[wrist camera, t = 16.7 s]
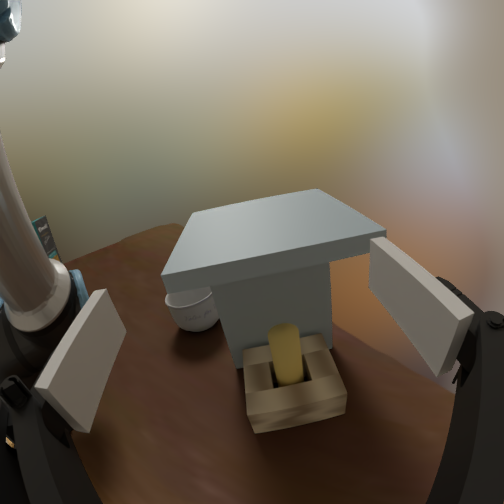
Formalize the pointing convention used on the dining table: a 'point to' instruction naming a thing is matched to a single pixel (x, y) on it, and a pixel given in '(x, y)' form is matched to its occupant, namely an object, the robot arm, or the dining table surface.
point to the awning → (269, 262)
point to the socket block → (292, 388)
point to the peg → (286, 354)
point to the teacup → (193, 309)
